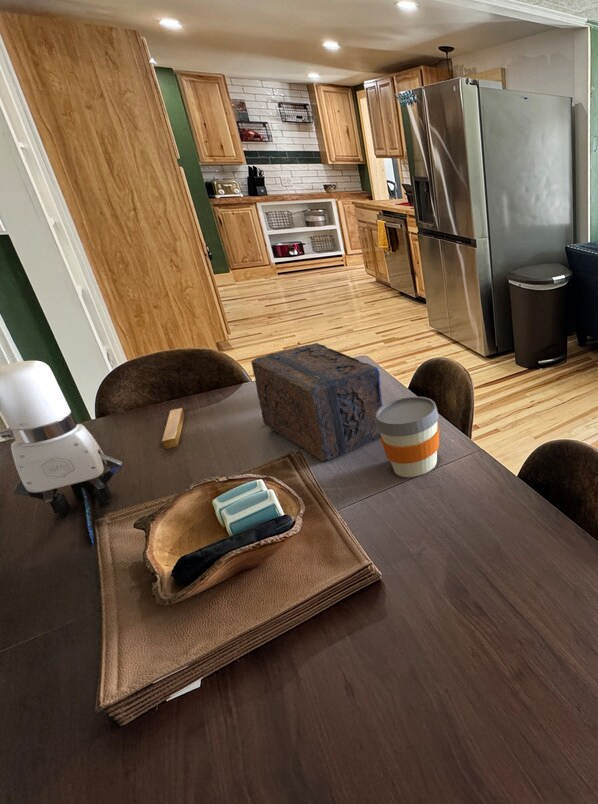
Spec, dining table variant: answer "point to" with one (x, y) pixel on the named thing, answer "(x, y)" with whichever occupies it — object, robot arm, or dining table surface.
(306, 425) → the decorative box
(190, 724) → the dining table surface
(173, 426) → the tan wooden bar
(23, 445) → the robot arm
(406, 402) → the reusable coffee cup
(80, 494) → the knife
